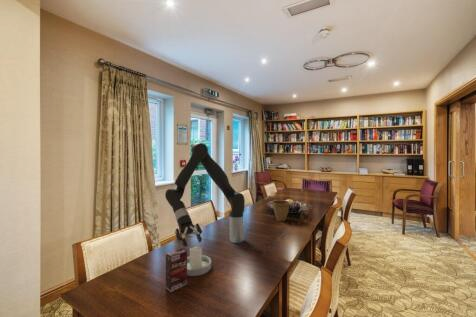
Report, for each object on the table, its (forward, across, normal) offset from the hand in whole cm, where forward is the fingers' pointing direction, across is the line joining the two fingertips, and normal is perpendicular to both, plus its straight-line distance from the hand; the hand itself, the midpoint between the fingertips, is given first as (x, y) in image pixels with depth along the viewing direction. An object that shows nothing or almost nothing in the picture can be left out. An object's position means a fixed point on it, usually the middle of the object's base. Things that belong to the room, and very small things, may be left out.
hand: (193, 244), depth 122 cm
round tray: (+10, 0, +7) cm, 12 cm away
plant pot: (-5, +98, +22) cm, 101 cm away
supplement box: (+16, -15, 0) cm, 22 cm away
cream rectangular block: (+9, 0, +6) cm, 11 cm away
